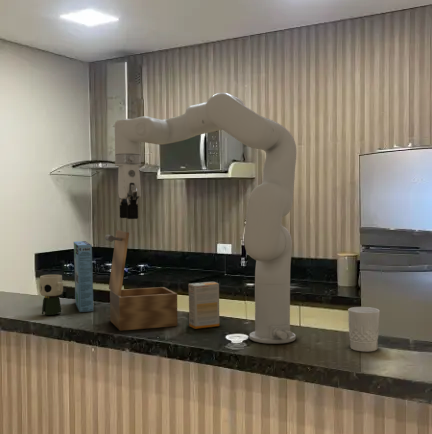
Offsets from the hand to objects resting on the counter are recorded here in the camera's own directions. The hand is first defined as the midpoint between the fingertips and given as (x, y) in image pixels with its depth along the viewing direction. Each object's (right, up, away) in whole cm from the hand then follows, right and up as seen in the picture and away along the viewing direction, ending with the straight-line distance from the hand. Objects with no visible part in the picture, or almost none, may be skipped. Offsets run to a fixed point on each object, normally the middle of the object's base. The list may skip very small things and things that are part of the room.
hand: (128, 218), depth 179 cm
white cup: (+64, -34, -27) cm, 77 cm away
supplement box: (+23, -33, +1) cm, 40 cm away
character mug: (-29, -32, +20) cm, 47 cm away
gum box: (-21, -31, +33) cm, 50 cm away
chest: (+4, -32, +5) cm, 33 cm away
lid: (-3, -13, +2) cm, 14 cm away
